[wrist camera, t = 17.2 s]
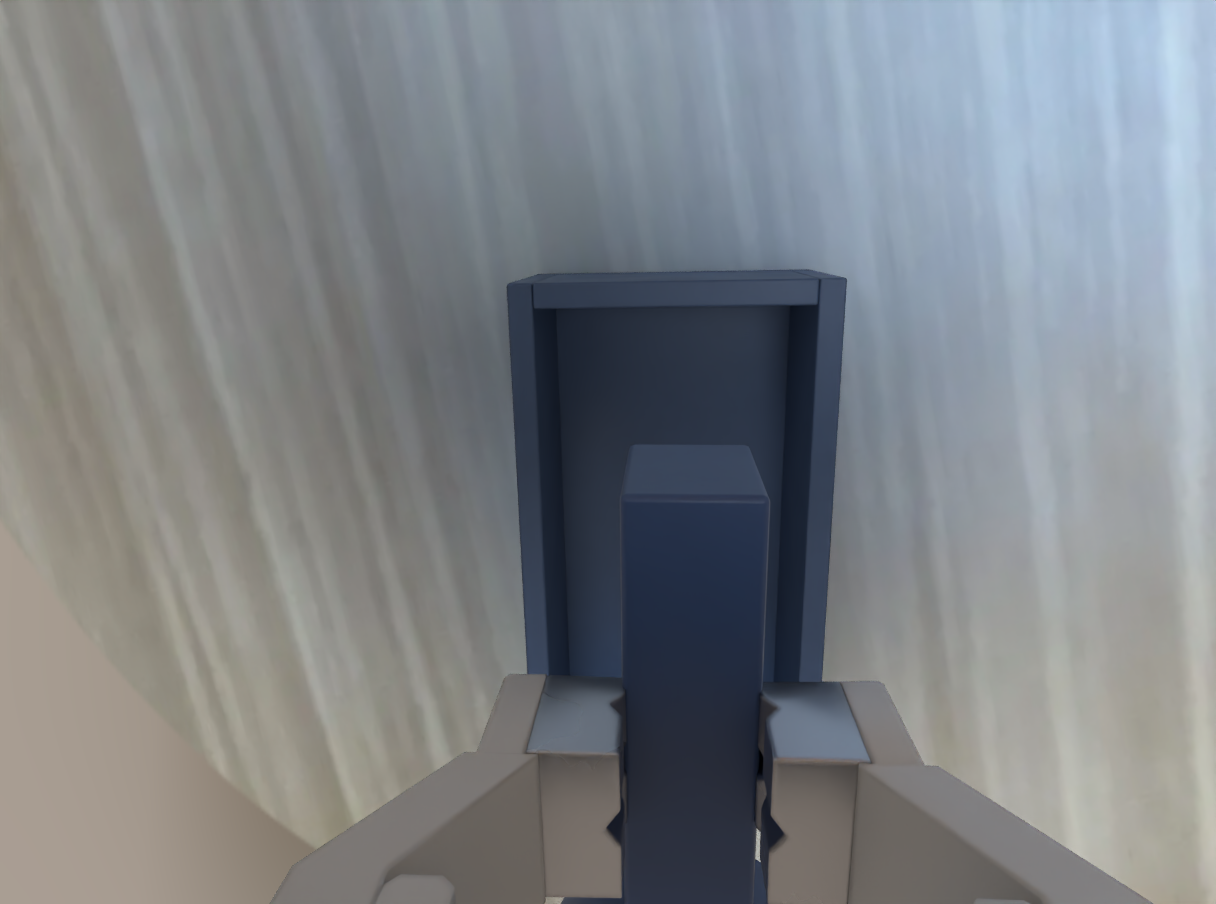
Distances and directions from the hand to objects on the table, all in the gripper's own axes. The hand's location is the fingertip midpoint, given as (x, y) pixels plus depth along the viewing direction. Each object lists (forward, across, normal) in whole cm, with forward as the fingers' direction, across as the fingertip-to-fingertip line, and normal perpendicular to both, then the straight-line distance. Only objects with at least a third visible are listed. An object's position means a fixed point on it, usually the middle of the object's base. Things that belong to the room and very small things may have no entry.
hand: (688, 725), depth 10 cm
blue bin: (+14, 0, +2) cm, 14 cm away
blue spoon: (+2, 0, +2) cm, 3 cm away
